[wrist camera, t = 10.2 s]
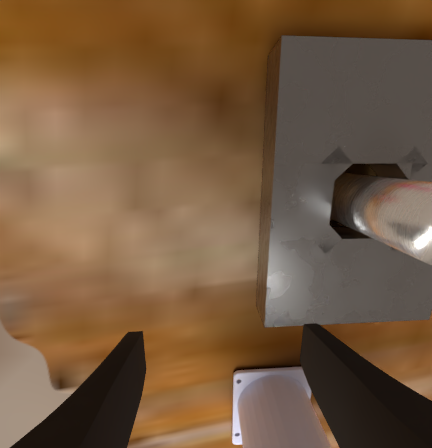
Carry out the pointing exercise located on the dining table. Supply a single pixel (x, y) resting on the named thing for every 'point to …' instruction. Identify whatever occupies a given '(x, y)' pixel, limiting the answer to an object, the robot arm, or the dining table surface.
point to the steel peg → (387, 211)
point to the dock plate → (331, 169)
